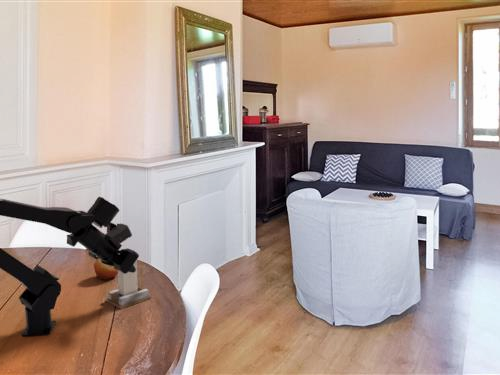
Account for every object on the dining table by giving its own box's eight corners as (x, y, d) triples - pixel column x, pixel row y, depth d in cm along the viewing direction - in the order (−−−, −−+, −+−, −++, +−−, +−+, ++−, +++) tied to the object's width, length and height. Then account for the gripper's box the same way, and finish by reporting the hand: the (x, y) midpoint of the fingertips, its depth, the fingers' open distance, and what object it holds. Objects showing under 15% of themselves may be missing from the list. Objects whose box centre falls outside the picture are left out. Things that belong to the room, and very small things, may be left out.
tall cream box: (124, 295, 125) (122, 255, 123) (118, 292, 128) (117, 253, 126) (137, 291, 129) (136, 252, 127) (132, 288, 131) (131, 250, 129)
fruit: (107, 265, 152) (113, 249, 148) (119, 281, 148) (125, 265, 145) (85, 272, 146) (91, 255, 142) (97, 289, 142) (104, 272, 138)
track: (120, 309, 122) (120, 300, 122) (106, 300, 128) (105, 291, 127) (151, 298, 129) (150, 290, 129) (136, 290, 135) (135, 282, 134)
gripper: (131, 222, 115) (166, 253, 125) (96, 211, 128) (130, 240, 137) (104, 258, 111) (143, 287, 121) (71, 242, 123) (108, 270, 133)
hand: (131, 269), depth 128 cm, fingers closed on tall cream box, 3 cm apart
